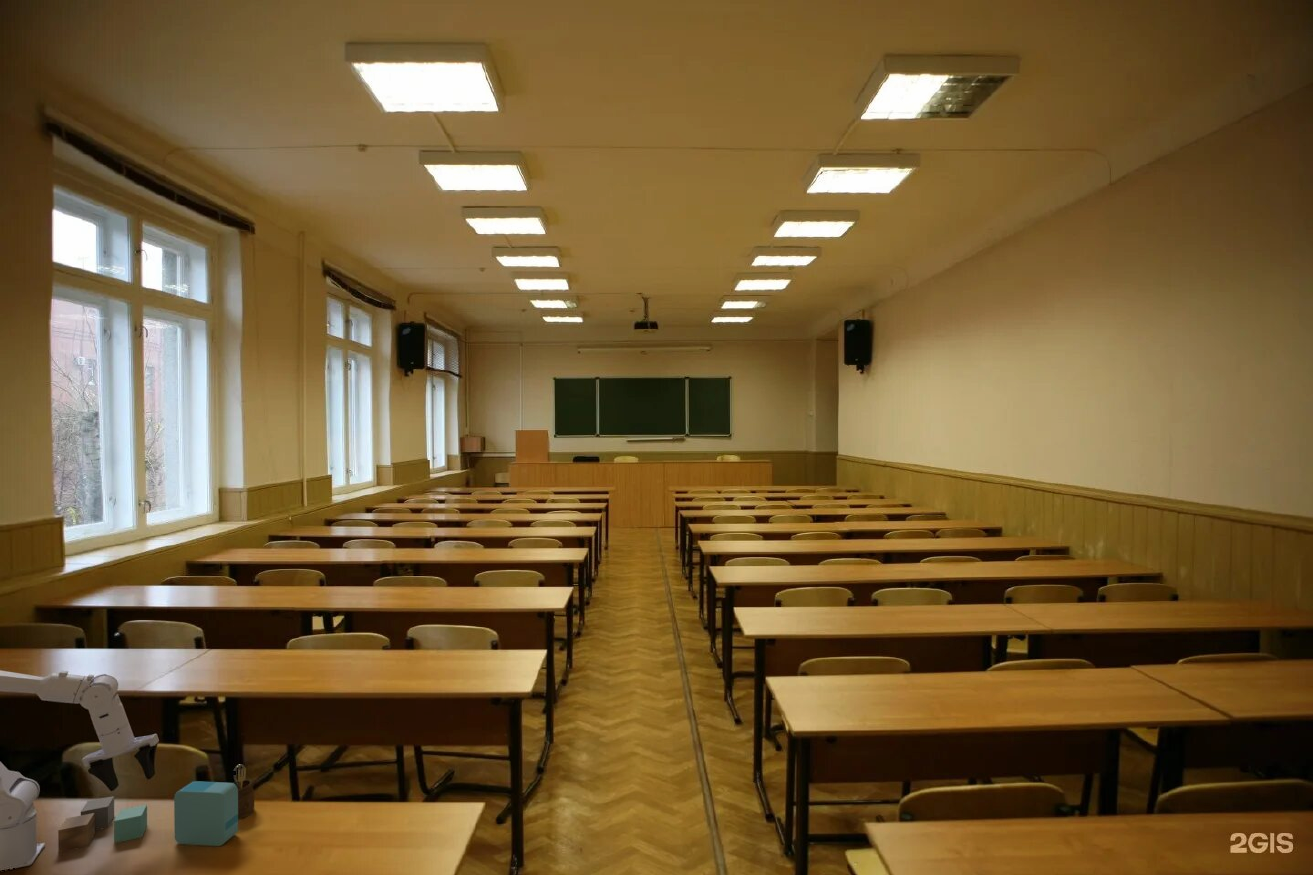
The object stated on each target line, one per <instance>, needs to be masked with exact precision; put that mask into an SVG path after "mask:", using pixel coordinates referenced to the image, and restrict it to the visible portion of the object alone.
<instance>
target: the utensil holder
mask: <svg viewBox="0 0 1313 875" xmlns="http://www.w3.org/2000/svg"><path fill="white" fill-rule="evenodd" d="M240 767H242V768H240ZM237 768H238V769H237ZM233 770H238V772H237V773H238V774H237V776H234V777H233V778H234V780H235V781H234V782H233V783H234V784H235V785H236V786H237V788H238V820H240V819H243V818H247V817H248V816H249V815H251V814H252V813H253V812H254V810H255V790H254V788H253V786H254V785H253V781H252V780H251V779H246V774H247V768H246V767H245V766H244V764H237V765H236V766H235V768H234V769H233Z"/></svg>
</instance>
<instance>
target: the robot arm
mask: <svg viewBox="0 0 1313 875" xmlns="http://www.w3.org/2000/svg"><path fill="white" fill-rule="evenodd" d="M118 689H119V681H118V680H117V679H116V677H114V676H112V675H109V674H106V673H102V674H98V675H96V676H95V674H88V675H87V676H86V675H79V674H78V675H77V674H72V673H71V674H69V671H68V670H60V671H59V672H52V673H50V674H49V675H47V676H38V675H37V676H36V675H32V674H26V673H19V672H12V671H6V670H1V669H0V692H4V693H5V692H6V693H7V692H8V693H22V694H23V693H24V694H36V696H38V697H39V699H40V700H41V701H44V702H45V701H48V702H54V703H55V702H56V703H65V704H68V703H69V704H75V705H76V704H80V706H81V707H83V708H84V709H86V710H88V713H89V715H90V719H91V721H92V725H93V728H94V730H95V733H96V735H97V738H98V740H99V743H100V747H101V749H99V750H97V751H94V752H91V753H89V754H87V755H86V754H85V756H84V757H83V758H82V759H81V761H82V764H83V767H84V768H86V767H89V769H88V770H87V772H88V774H90V775H93V776H94V777H95V778H97V779H99V781H101V782H102V783H103V784H104V785H105V787H107V789H108V790H109V791H110V792H114V791H115V790H116V789H117V788H118V787H119V780H118V777H117V775H116V771H115V767H114V762H113V761H114V760H113V758H116V757H117V756H121V755H125V754H128V753H131V752H135V751H137V750H138V751H137V752H136V753H135V754H134V755H133V758H135V759H136V761H137V762H138V764H139V765H140V767H141V768H142V770H143V774H144V776H145V778H146V779H147V780H151V779H152V778H153V777H154V776H155V775H156V771H155V759H156V753H157V748H158V743H159V741H160V740H159V737H158V734H157V733H154V734H150V735H144V736H138V737H135V736H134V733H133V730H132V727H131V725H130V722H129V719H128V717H127V714H126V711H125V708H124V705H123V702H122V701H121V699H120V697H119V696H120V695H119V694H118V693H117V692H118ZM40 788H41V787H40V784H39V783H38V782H37V781H36V780H34V779H32V778H28V777H27V776H26V777H25V776H24V775H22V774H21V772H19V771H15V770H9V769H8V768H7V767H6V766H5V765H4V764H3V763H2V761H0V870H4V869H10V870H14V869H13V868H15V869H19V868H23V867H29V866H31V865H32V864H33V863H34V861H35V860H36V859H37V857H39V856H38V855H40V853H41V852H42V850H43V849H44V848H45V846H46V844H45V842H41V843H38V829H37V828H38V821H37V820H38V818H37V817H38V816H37V815H38V814H37V812H38V810H37V808H36V806H35V804H34V802H35V801H36V800H37V799H38V798H39V795H40V792H41V790H40Z"/></svg>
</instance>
